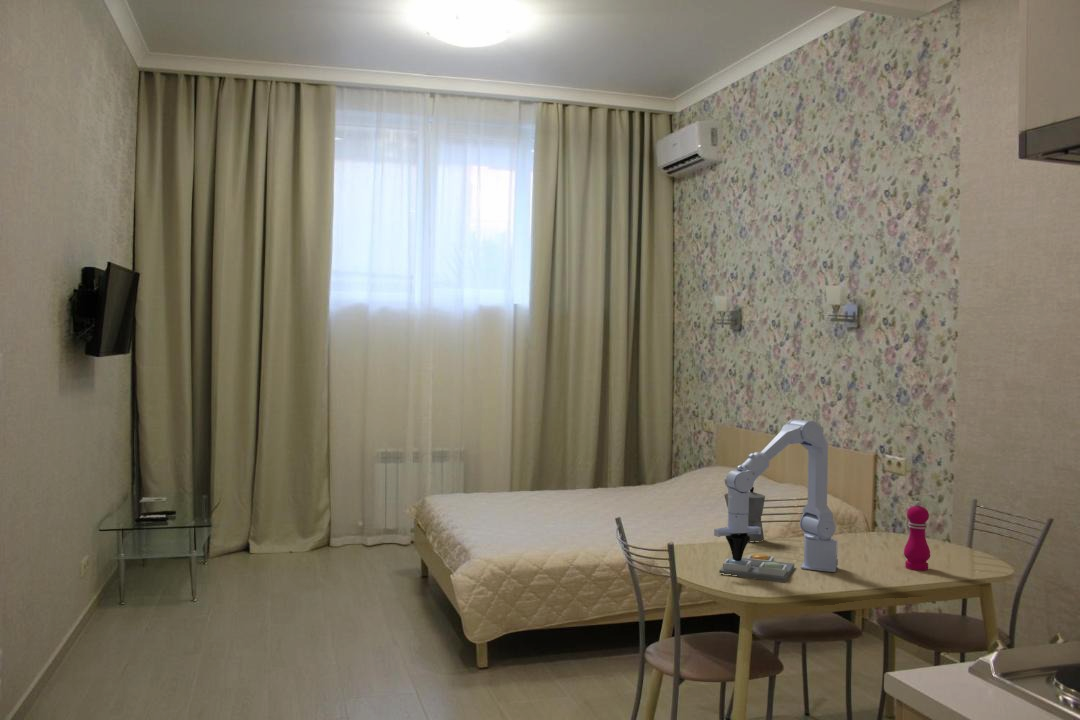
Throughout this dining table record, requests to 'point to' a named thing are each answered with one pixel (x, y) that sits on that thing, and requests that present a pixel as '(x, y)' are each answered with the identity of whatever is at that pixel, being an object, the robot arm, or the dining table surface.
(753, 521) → the coffeepot
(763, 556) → the button orange
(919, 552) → the pepper mill
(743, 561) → the button blue
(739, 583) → the dining table surface
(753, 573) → the control board
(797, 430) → the robot arm
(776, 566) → the button sage
